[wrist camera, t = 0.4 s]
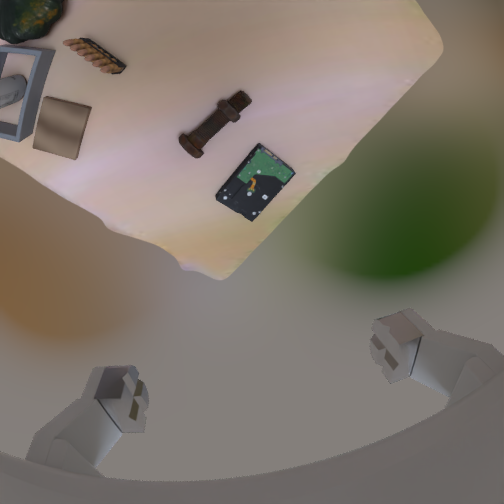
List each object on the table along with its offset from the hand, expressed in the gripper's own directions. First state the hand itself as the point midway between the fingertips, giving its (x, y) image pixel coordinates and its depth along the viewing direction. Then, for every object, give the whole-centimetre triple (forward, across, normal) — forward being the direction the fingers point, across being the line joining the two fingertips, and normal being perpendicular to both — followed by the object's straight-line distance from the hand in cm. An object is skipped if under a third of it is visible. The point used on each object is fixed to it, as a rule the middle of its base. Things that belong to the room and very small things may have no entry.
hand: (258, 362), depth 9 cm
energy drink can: (+43, +38, -31) cm, 65 cm away
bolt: (+50, -1, -12) cm, 52 cm away
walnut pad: (+47, +30, -19) cm, 58 cm away
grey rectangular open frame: (+42, +38, -31) cm, 65 cm away
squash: (+38, +30, -45) cm, 66 cm away
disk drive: (+55, -7, +2) cm, 56 cm away
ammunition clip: (+44, +18, -30) cm, 56 cm away
